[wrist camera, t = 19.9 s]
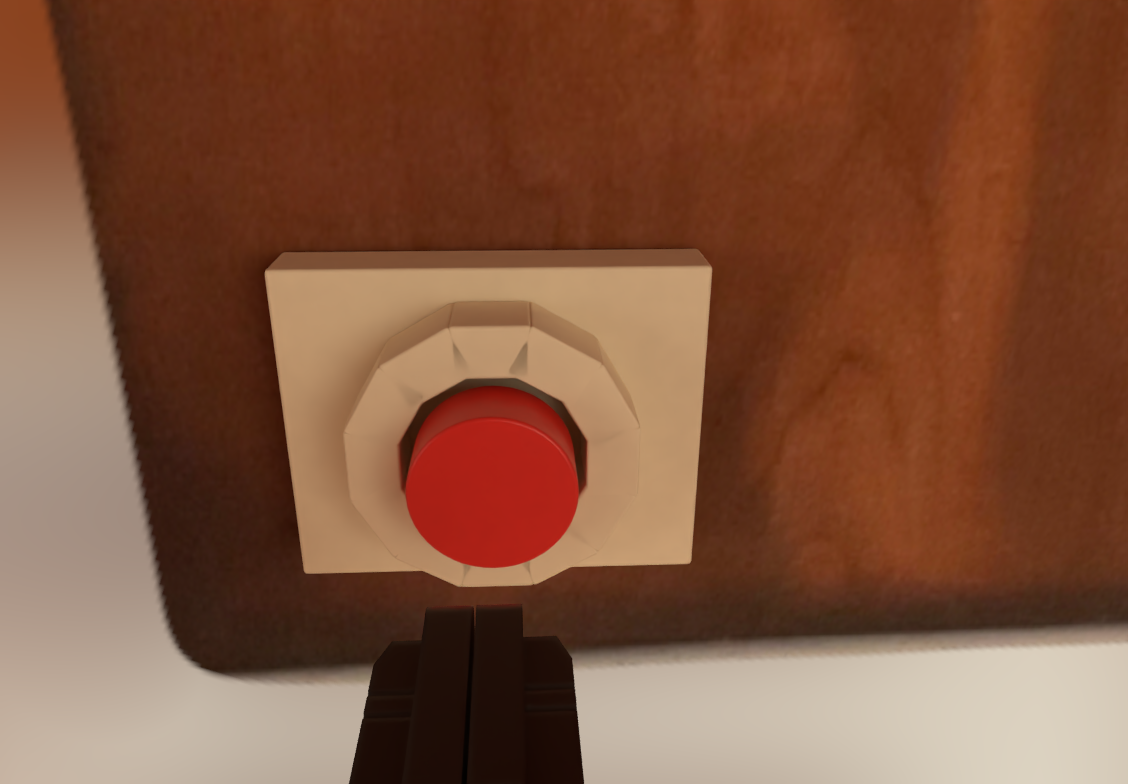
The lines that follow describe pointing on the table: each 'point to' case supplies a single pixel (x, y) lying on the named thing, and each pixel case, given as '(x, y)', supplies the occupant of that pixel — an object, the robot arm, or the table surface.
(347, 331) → the button box
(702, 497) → the table surface
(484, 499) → the red button
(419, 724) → the robot arm
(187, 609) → the table surface
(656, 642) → the table surface
